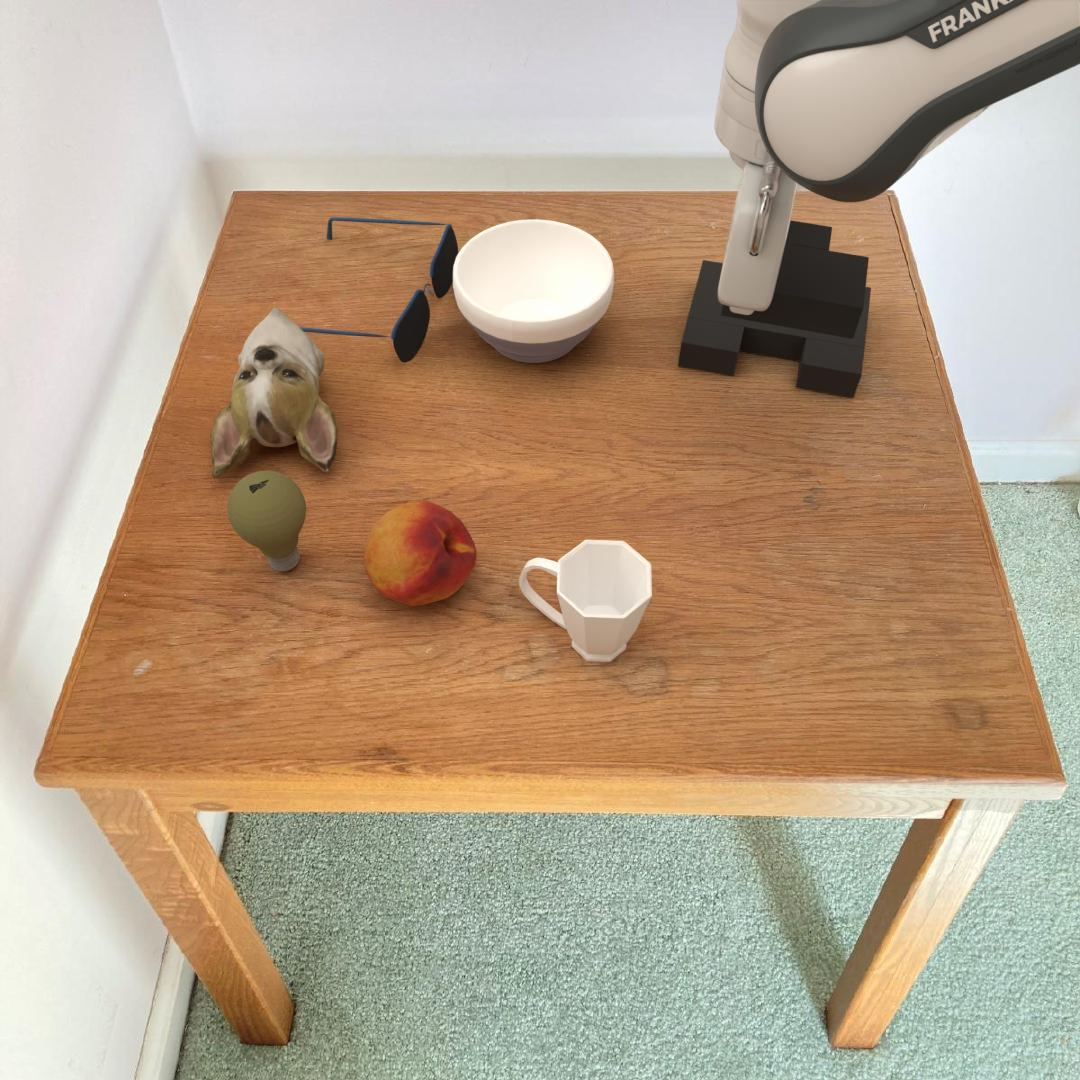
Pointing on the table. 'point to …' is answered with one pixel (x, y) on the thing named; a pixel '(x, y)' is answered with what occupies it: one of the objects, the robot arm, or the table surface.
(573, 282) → the bowl
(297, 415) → the ceramic sculpture
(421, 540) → the fruit
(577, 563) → the cup
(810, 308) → the black stepped block
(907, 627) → the table surface
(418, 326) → the sunglasses
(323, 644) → the table surface
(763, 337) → the base pad
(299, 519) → the light bulb
